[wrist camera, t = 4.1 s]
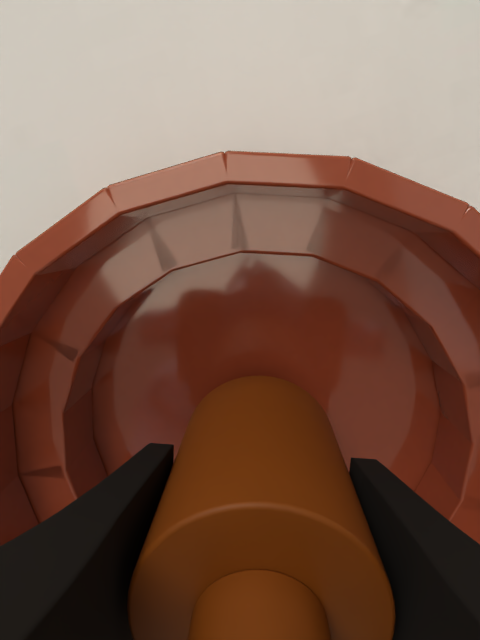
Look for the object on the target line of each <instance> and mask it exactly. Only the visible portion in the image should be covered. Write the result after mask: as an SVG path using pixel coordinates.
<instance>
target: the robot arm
mask: <svg viewBox="0 0 480 640" xmlns="http://www.w3.org/2000/svg"><path fill="white" fill-rule="evenodd" d="M173 461H174V444H160V443H149V444H148V445H146V446H145V447H144V448H143V449H141V450H140V451H139V452H138V453H136V454H135V455H134V456H133V457H131V458H130V459H129V460H128V461H126V462H125V463H124V464H123V465H122V466H120V467H119V468H118V469H117V470H115V471H114V472H113V473H111V474H110V475H109V476H108V477H106V478H105V479H104V480H102V481H101V482H100V483H99V484H97V485H96V486H95V487H93V488H92V489H90V490H89V491H87V492H86V493H85V494H83V495H82V496H80V497H79V498H77V499H76V500H75V501H73V502H72V503H70V504H69V505H68V506H66V507H65V508H63V509H62V510H60V511H59V512H57V513H56V514H54V515H53V516H51V517H49V518H48V519H46V520H45V521H43V522H41V523H40V524H38V525H36V526H35V527H33V528H31V529H30V530H28V531H26V532H24V533H23V534H21V535H19V536H18V537H16V538H14V539H12V540H11V541H9V542H7V543H5V544H3V545H1V546H0V640H133V638H132V635H131V631H130V627H129V621H128V611H127V599H128V590H129V585H130V581H131V577H132V574H133V572H134V569H135V566H136V563H137V561H138V558H139V555H140V553H141V550H142V547H143V545H144V542H145V539H146V536H147V534H148V531H149V528H150V526H151V523H152V520H153V518H154V515H155V512H156V509H157V507H158V504H159V501H160V499H161V496H162V493H163V490H164V488H165V485H166V482H167V480H168V477H169V474H170V472H171V469H172V466H173ZM349 474H350V477H351V480H352V482H353V485H354V488H355V491H356V493H357V496H358V499H359V501H360V504H361V507H362V509H363V512H364V515H365V517H366V520H367V523H368V525H369V528H370V531H371V533H372V536H373V539H374V541H375V544H376V547H377V549H378V552H379V555H380V557H381V560H382V563H383V565H384V568H385V571H386V574H387V576H388V579H389V582H390V584H391V588H392V592H393V596H394V600H395V613H396V617H395V628H394V635H393V639H392V640H480V544H479V543H477V542H476V541H475V540H473V539H472V538H471V537H469V536H468V535H467V534H465V533H464V532H463V531H462V530H460V529H459V528H458V527H456V526H455V525H454V524H453V523H451V522H450V521H449V520H448V519H446V518H445V517H444V516H443V515H441V514H440V513H439V512H438V511H437V510H435V509H434V508H433V507H432V506H431V505H429V504H428V503H427V502H426V501H425V500H423V499H422V498H421V497H420V496H419V495H418V494H416V493H415V492H414V491H413V490H412V489H411V488H410V487H408V486H407V485H406V484H405V483H404V482H403V481H401V480H400V479H399V478H398V477H397V476H396V475H395V474H393V473H392V472H391V471H390V470H389V469H388V468H386V467H385V466H384V465H383V464H382V463H380V462H379V461H378V460H376V459H366V458H352V457H351V462H350V470H349Z"/></svg>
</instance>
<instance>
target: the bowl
mask: <svg viewBox="0 0 480 640" xmlns="http://www.w3.org/2000/svg"><path fill="white" fill-rule="evenodd" d="M247 376H270V377H276V378H280V379H284V380H286V381H289V382H291V383H294V384H295V385H297V386H299V387H301V388H302V389H304V390H305V391H307V392H308V393H309V394H310V395H311V396H313V397H314V398H315V399H316V400H317V402H318V403H319V404H320V405H321V407H322V408H323V409H324V411H325V413H326V415H327V416H328V419H329V421H330V424H331V426H332V429H333V432H334V434H335V437H336V440H337V442H338V445H339V448H340V450H341V453H342V456H343V458H344V461H345V464H346V466H347V469H348V472H349V470H350V462H351V457H352V458H366V459H376V460H378V461H379V462H380V463H382V464H383V465H384V466H385V467H386V468H388V469H389V470H390V471H391V472H392V473H393V474H395V475H396V476H397V477H398V478H399V479H400V480H401V481H403V482H404V483H405V484H406V485H407V486H408V487H410V488H411V489H412V490H413V491H414V492H415V493H416V494H418V495H419V496H420V497H421V498H422V499H423V500H425V501H426V502H427V503H428V504H429V505H431V506H432V507H433V508H434V509H435V510H437V511H438V512H439V513H440V514H441V515H443V516H444V517H445V518H446V519H448V520H449V521H450V522H451V523H453V524H454V525H455V526H456V527H458V528H459V529H460V530H462V531H463V532H464V533H465V534H467V535H468V536H469V537H471V538H472V539H473V540H475V541H476V542H477V543H479V544H480V213H479V212H478V211H477V210H476V209H475V208H474V207H472V206H469V204H468V203H466V202H464V201H462V200H459V199H457V198H454V197H452V196H449V195H447V194H444V193H442V192H439V191H437V190H434V189H432V188H429V187H427V186H424V185H422V184H420V183H417V182H415V181H412V180H410V179H407V178H405V177H402V176H400V175H397V174H395V173H392V172H390V171H387V170H385V169H383V168H380V167H378V166H375V165H373V164H370V163H368V162H365V161H363V160H360V159H358V158H352V159H351V157H349V156H331V155H309V154H288V153H266V152H244V151H226V152H225V153H224V152H218V153H215V154H211V155H208V156H205V157H201V158H198V159H195V160H191V161H188V162H184V163H181V164H178V165H174V166H171V167H168V168H164V169H161V170H158V171H154V172H151V173H148V174H144V175H141V176H138V177H134V178H131V179H128V180H124V181H121V182H118V183H114V184H111V185H109V186H108V188H103V189H101V190H100V191H99V192H97V193H96V194H95V195H93V196H92V197H91V198H89V199H88V200H87V201H85V202H84V203H82V204H81V205H80V206H78V207H77V208H76V209H74V210H73V211H72V212H70V213H69V214H68V215H66V216H65V217H63V218H62V219H61V220H59V221H58V222H57V223H55V224H54V225H53V226H51V227H50V228H49V229H47V230H46V231H45V232H43V233H42V234H40V235H39V236H38V237H36V238H35V239H34V240H32V241H31V242H30V243H28V244H27V245H26V246H24V247H23V248H22V249H20V250H19V251H17V253H16V254H15V255H13V256H12V257H11V259H10V261H9V262H8V264H7V265H6V267H5V268H4V270H3V271H2V273H1V274H0V546H1V545H3V544H5V543H7V542H9V541H11V540H12V539H14V538H16V537H18V536H19V535H21V534H23V533H24V532H26V531H28V530H30V529H31V528H33V527H35V526H36V525H38V524H40V523H41V522H43V521H45V520H46V519H48V518H49V517H51V516H53V515H54V514H56V513H57V512H59V511H60V510H62V509H63V508H65V507H66V506H68V505H69V504H70V503H72V502H73V501H75V500H76V499H77V498H79V497H80V496H82V495H83V494H85V493H86V492H87V491H89V490H90V489H92V488H93V487H95V486H96V485H97V484H99V483H100V482H101V481H102V480H104V479H105V478H106V477H108V476H109V475H110V474H111V473H113V472H114V471H115V470H117V469H118V468H119V467H120V466H122V465H123V464H124V463H125V462H126V461H128V460H129V459H130V458H131V457H133V456H134V455H135V454H136V453H138V452H139V451H140V450H141V449H143V448H144V447H145V446H146V445H148V444H149V443H160V444H174V461H175V458H176V455H177V453H178V450H179V447H180V445H181V442H182V439H183V436H184V434H185V431H186V428H187V426H188V423H189V420H190V418H191V415H192V414H193V412H194V410H195V408H196V407H197V405H198V404H199V403H200V402H201V400H202V399H203V398H204V397H205V396H206V395H207V394H208V393H210V392H211V391H212V390H214V389H215V388H216V387H218V386H220V385H222V384H224V383H226V382H228V381H231V380H234V379H237V378H241V377H247ZM174 461H173V463H174Z"/></svg>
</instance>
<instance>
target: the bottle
mask: <svg viewBox="0 0 480 640" xmlns="http://www.w3.org/2000/svg"><path fill="white" fill-rule="evenodd" d="M127 611H128V621H129V627H130V631H131V635H132V638H133V640H392V639H393V635H394V628H395V617H396V613H395V600H394V596H393V592H392V588H391V584H390V582H389V579H388V576H387V574H386V571H385V568H384V565H383V563H382V560H381V557H380V555H379V552H378V549H377V547H376V544H375V541H374V539H373V536H372V533H371V531H370V528H369V525H368V523H367V520H366V517H365V515H364V512H363V509H362V507H361V504H360V501H359V499H358V496H357V493H356V491H355V488H354V485H353V482H352V480H351V477H350V474H349V472H348V469H347V466H346V464H345V461H344V458H343V456H342V453H341V450H340V448H339V445H338V442H337V440H336V437H335V434H334V432H333V429H332V426H331V424H330V421H329V419H328V416H327V415H326V413H325V411H324V409H323V408H322V407H321V405H320V404H319V403H318V402H317V400H316V399H315V398H314V397H313V396H311V395H310V394H309V393H308V392H307V391H305V390H304V389H302V388H301V387H299V386H297V385H295V384H294V383H291V382H289V381H286V380H284V379H280V378H276V377H270V376H247V377H241V378H237V379H234V380H231V381H228V382H226V383H224V384H222V385H220V386H218V387H216V388H215V389H214V390H212V391H211V392H210V393H208V394H207V395H206V396H205V397H204V398H203V399H202V400H201V402H200V403H199V404H198V405H197V407H196V408H195V410H194V412H193V414H192V415H191V418H190V420H189V423H188V426H187V428H186V431H185V434H184V436H183V439H182V442H181V445H180V447H179V450H178V453H177V455H176V458H175V461H174V463H173V466H172V469H171V472H170V474H169V477H168V480H167V482H166V485H165V488H164V490H163V493H162V496H161V499H160V501H159V504H158V507H157V509H156V512H155V515H154V518H153V520H152V523H151V526H150V528H149V531H148V534H147V536H146V539H145V542H144V545H143V547H142V550H141V553H140V555H139V558H138V561H137V563H136V566H135V569H134V572H133V574H132V577H131V581H130V585H129V590H128V599H127Z"/></svg>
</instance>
